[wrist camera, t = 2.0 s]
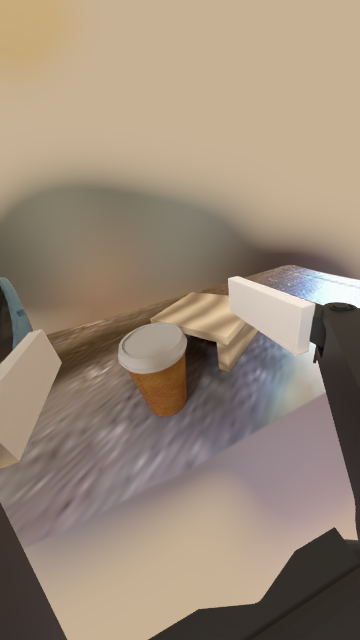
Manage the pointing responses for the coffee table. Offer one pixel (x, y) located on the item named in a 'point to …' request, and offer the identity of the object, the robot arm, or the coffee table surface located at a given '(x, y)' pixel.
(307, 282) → the coffee table surface
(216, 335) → the maple shelf
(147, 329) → the disposable coffee cup
